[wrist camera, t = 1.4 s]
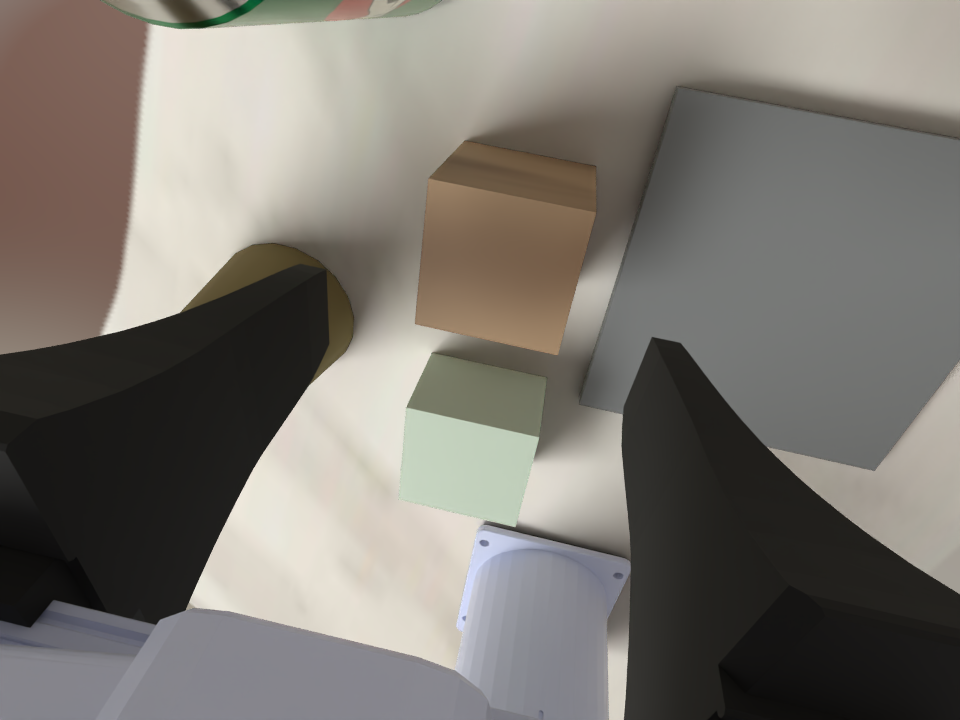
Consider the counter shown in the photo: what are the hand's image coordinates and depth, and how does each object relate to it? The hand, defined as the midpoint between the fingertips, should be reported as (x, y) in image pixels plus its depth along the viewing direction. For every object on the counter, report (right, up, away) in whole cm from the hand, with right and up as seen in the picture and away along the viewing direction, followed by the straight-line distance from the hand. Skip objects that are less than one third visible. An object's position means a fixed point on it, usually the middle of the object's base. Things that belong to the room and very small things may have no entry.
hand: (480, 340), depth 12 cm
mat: (+11, +2, +7) cm, 13 cm away
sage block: (0, -3, +13) cm, 13 cm away
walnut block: (+1, +5, +8) cm, 9 cm away
